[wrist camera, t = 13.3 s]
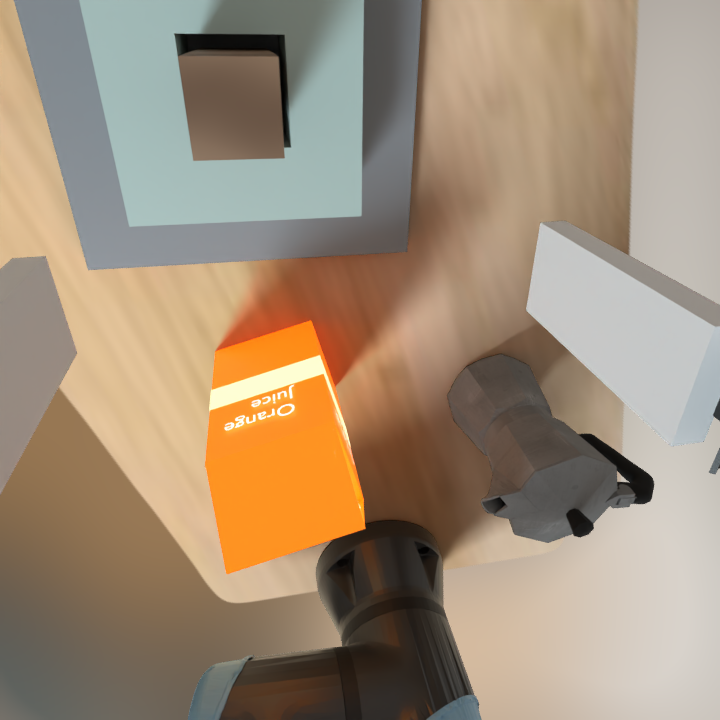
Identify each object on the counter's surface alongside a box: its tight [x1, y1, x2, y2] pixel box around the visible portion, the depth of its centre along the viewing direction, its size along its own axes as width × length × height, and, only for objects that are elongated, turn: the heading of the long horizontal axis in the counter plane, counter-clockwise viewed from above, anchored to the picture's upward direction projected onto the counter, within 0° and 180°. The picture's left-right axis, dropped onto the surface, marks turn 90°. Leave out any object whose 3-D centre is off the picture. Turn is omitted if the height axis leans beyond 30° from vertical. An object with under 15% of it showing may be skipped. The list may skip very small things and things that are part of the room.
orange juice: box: [205, 321, 366, 574], centre depth 40 cm, size 8×9×20 cm
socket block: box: [14, 0, 422, 270], centre depth 32 cm, size 24×24×8 cm
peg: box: [178, 48, 285, 161], centre depth 29 cm, size 4×4×14 cm
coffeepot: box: [447, 354, 654, 543], centre depth 47 cm, size 15×9×18 cm, turn 84°
